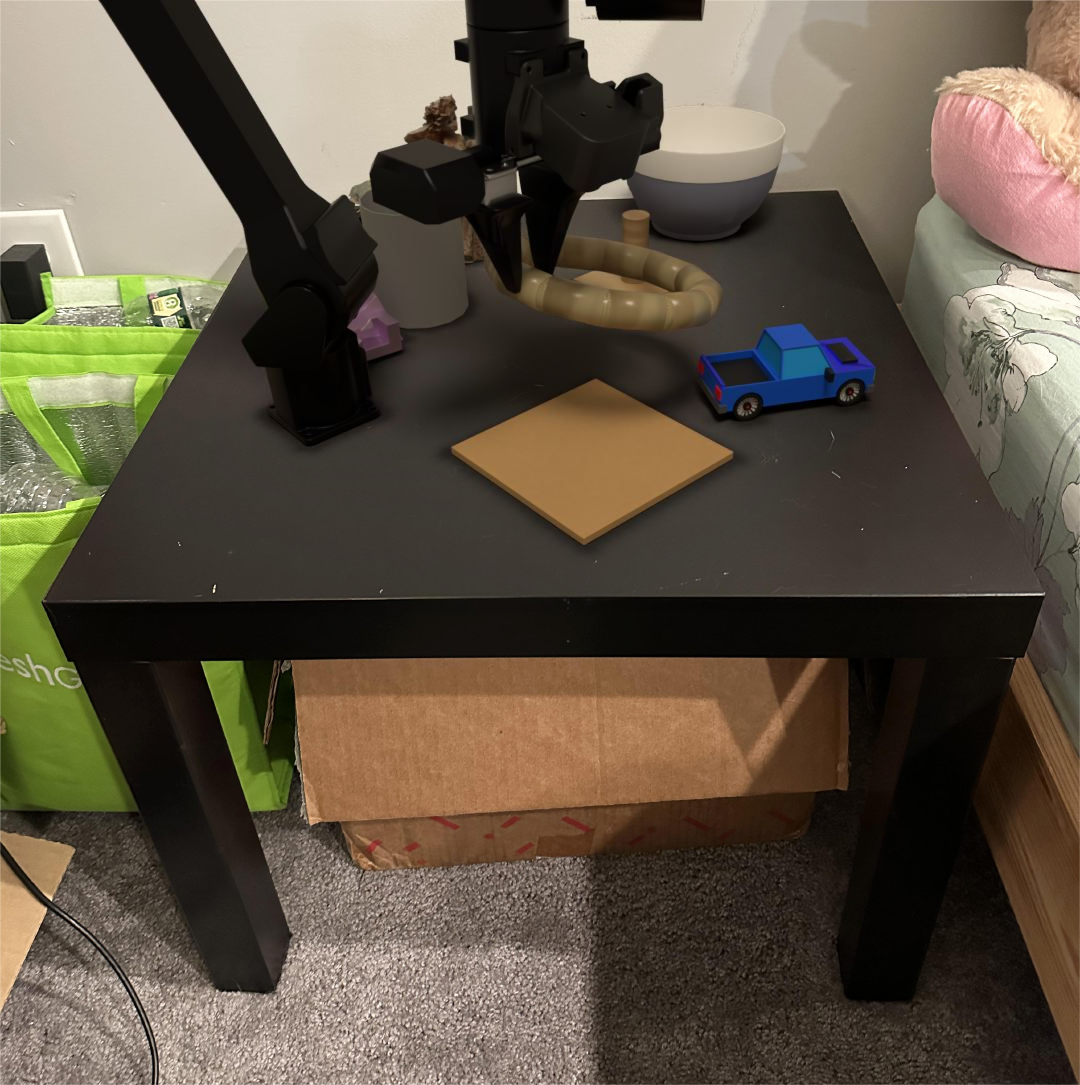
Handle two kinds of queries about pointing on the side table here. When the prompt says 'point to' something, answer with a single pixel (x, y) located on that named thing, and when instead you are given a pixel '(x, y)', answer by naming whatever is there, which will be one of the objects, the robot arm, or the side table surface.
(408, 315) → the cup
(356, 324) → the purple jagged faceted chunk
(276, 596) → the side table surface
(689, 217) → the bowl
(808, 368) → the toy car
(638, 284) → the ring toss peg
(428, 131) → the figurine
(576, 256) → the segmented tan ring
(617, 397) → the mat
